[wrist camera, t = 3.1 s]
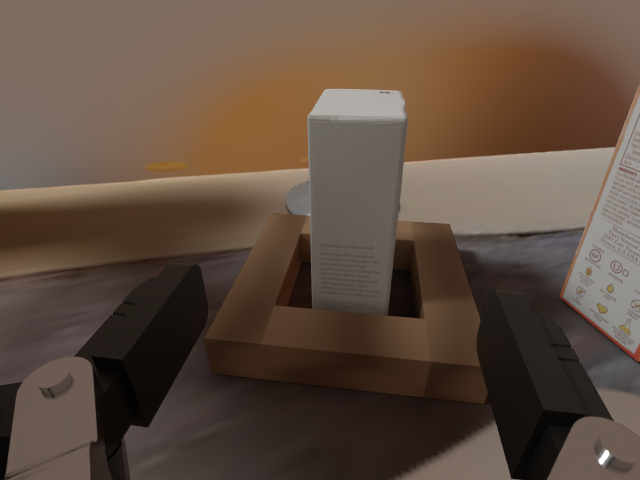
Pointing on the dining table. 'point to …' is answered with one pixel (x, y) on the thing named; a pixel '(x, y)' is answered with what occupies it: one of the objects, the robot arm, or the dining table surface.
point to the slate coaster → (299, 200)
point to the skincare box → (355, 197)
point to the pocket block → (352, 322)
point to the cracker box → (612, 248)
